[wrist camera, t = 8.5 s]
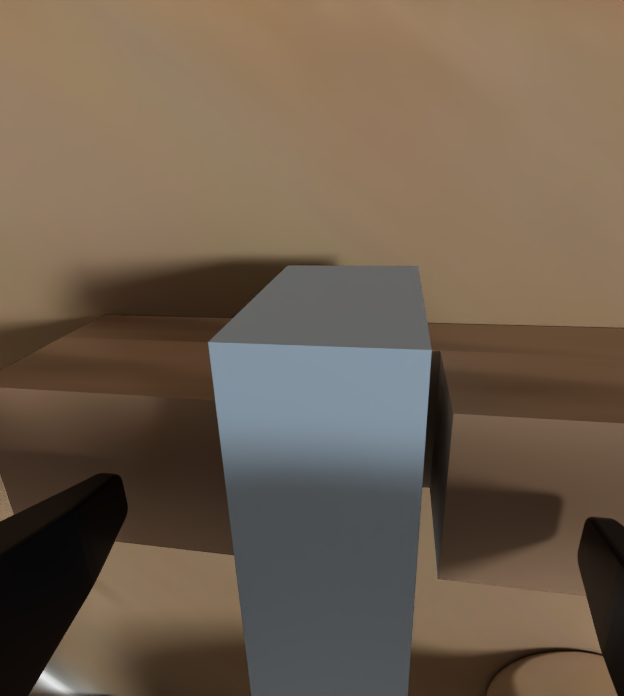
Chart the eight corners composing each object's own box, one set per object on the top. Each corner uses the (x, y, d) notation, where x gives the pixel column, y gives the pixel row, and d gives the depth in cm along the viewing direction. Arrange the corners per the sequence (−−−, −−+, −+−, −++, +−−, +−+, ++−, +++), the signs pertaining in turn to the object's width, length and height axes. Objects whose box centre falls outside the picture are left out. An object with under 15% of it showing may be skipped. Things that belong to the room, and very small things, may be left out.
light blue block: (403, 541, 13) (404, 738, 9) (301, 531, 14) (253, 711, 9) (418, 266, 10) (431, 350, 6) (287, 265, 11) (208, 342, 6)
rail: (636, 460, 13) (758, 616, 9) (126, 425, 16) (19, 530, 12) (672, 329, 12) (839, 435, 7) (103, 314, 15) (-30, 385, 10)
